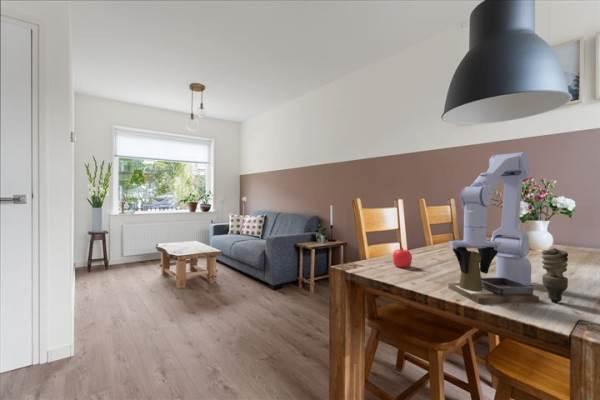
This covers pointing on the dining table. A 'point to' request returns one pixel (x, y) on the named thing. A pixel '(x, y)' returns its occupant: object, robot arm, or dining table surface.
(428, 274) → the dining table surface
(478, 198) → the robot arm
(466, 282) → the cork
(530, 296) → the walnut board
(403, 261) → the apple
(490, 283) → the dark grey tray
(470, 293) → the mat
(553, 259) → the light bulb
